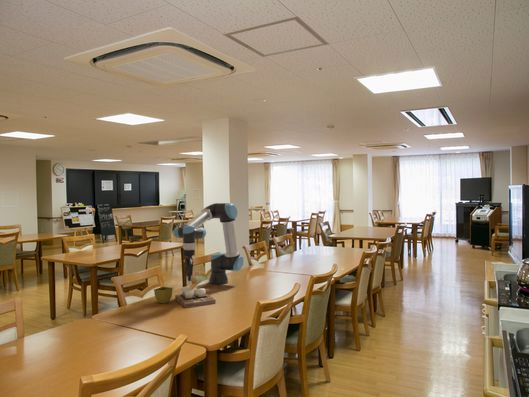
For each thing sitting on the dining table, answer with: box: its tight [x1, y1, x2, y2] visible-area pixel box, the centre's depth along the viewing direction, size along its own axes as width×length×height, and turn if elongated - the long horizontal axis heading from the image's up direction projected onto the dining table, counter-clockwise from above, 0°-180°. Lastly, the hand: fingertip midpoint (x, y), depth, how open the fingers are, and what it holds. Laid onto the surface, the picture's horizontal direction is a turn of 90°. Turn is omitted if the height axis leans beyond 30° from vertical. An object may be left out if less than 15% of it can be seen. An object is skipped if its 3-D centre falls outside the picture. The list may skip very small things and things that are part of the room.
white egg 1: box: [181, 286, 191, 295], centre depth 263 cm, size 6×6×4 cm
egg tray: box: [174, 292, 216, 309], centre depth 259 cm, size 24×20×3 cm
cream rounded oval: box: [185, 289, 195, 298], centre depth 256 cm, size 6×6×4 cm
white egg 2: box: [197, 287, 206, 297], centre depth 260 cm, size 6×6×4 cm
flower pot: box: [153, 286, 174, 304], centre depth 256 cm, size 9×9×9 cm
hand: (188, 285), depth 256 cm, fingers closed
